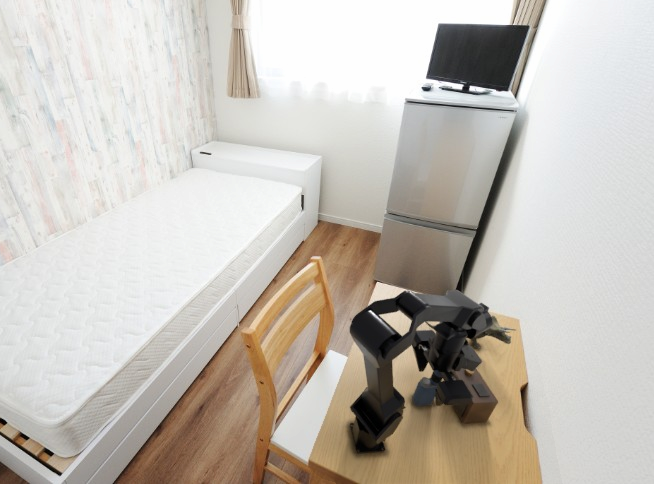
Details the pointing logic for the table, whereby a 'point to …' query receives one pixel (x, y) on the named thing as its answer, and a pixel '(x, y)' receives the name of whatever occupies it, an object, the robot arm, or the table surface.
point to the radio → (475, 398)
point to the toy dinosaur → (491, 333)
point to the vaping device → (427, 389)
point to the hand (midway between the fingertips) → (429, 387)
